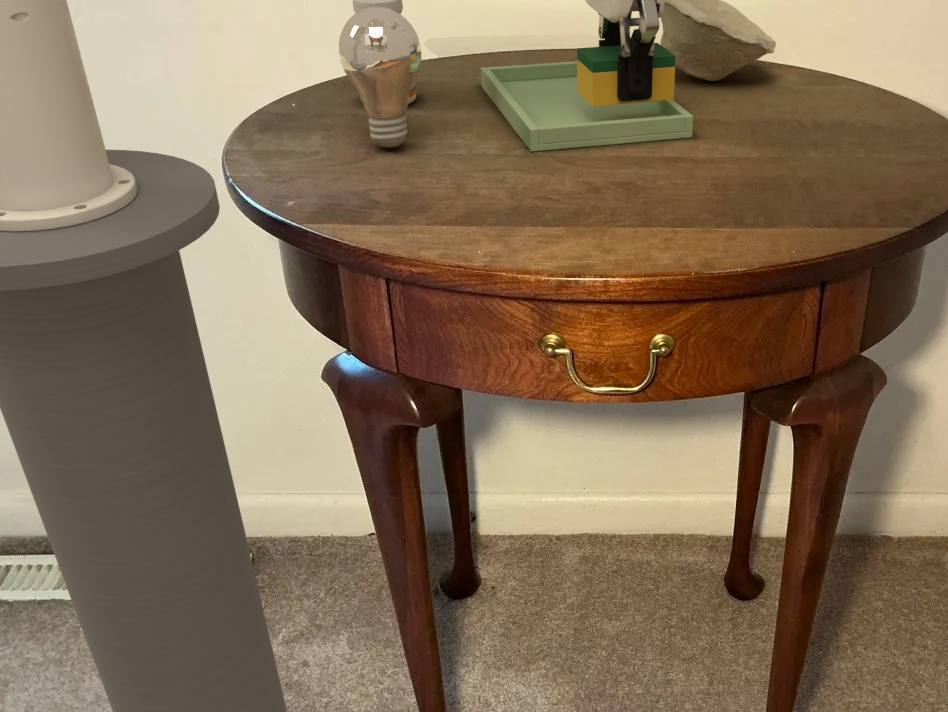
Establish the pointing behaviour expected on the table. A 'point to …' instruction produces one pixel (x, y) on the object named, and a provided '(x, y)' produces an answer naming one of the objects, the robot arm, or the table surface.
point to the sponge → (601, 75)
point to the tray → (575, 110)
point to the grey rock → (711, 37)
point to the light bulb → (381, 69)
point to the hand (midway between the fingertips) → (624, 89)
